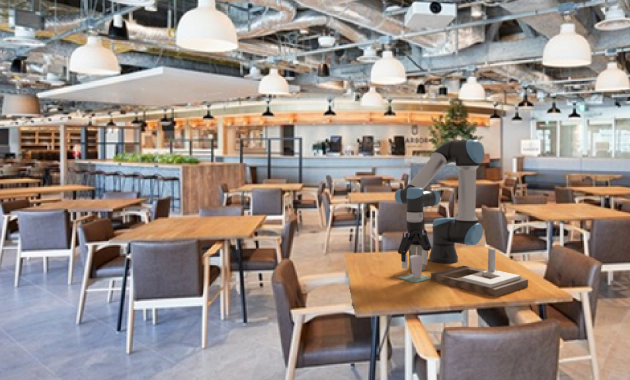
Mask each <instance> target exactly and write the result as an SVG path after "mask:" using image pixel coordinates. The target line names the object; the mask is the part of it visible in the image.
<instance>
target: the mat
mask: <svg viewBox="0 0 630 380" xmlns="http://www.w3.org/2000/svg"><path fill="white" fill-rule="evenodd" d="M397 279H400V280H403V281H405V282H411V283H414V284H418V283H422V282H425V281H431V276H427V275H422V274H421V278H414V277H413V274H412V273H409V274H405V275H400V276H397Z"/></svg>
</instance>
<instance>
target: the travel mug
mask: <svg viewBox="0 0 630 380" xmlns="http://www.w3.org/2000/svg"><path fill="white" fill-rule="evenodd" d="M421 236H422V235H421ZM416 247H417V255H420V256H422V250H423V248H422V247H421V245H420V243H419V242H418V241H415V242H413V243H412V244H411V246H410V248H409V250H408V270H410V271H412V266H411V259H410V256H412V255H416ZM425 270H426V265H425V264H423V265H422V272H423V271H425Z"/></svg>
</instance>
